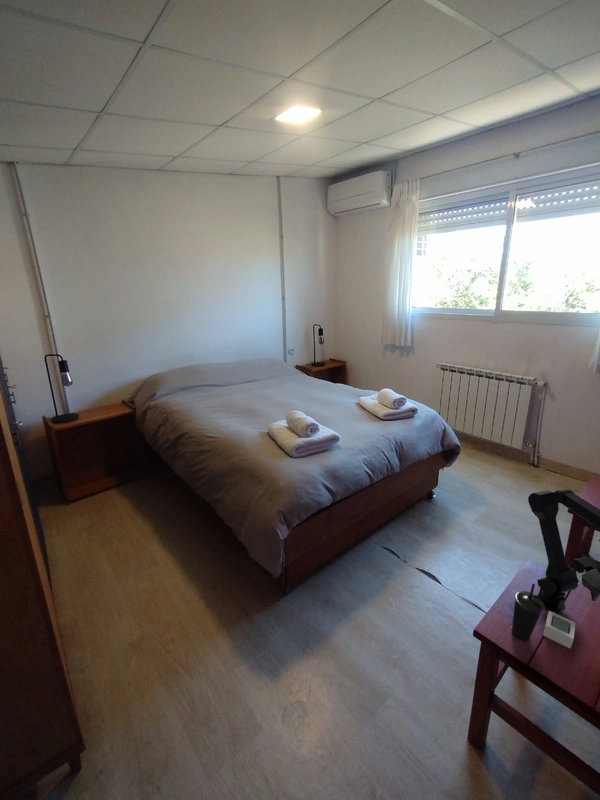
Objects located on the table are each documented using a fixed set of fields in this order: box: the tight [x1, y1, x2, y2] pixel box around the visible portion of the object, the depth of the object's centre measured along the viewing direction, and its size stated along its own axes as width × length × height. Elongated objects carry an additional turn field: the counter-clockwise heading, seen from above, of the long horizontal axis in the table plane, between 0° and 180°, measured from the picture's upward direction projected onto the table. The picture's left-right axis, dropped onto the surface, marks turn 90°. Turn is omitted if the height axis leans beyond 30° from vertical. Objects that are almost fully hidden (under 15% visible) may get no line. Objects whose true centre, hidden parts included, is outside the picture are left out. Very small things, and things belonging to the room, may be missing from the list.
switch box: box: [542, 610, 576, 649], centre depth 116 cm, size 7×7×4 cm
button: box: [551, 617, 569, 633], centre depth 116 cm, size 4×4×3 cm
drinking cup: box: [511, 583, 545, 643], centre depth 113 cm, size 8×8×20 cm
